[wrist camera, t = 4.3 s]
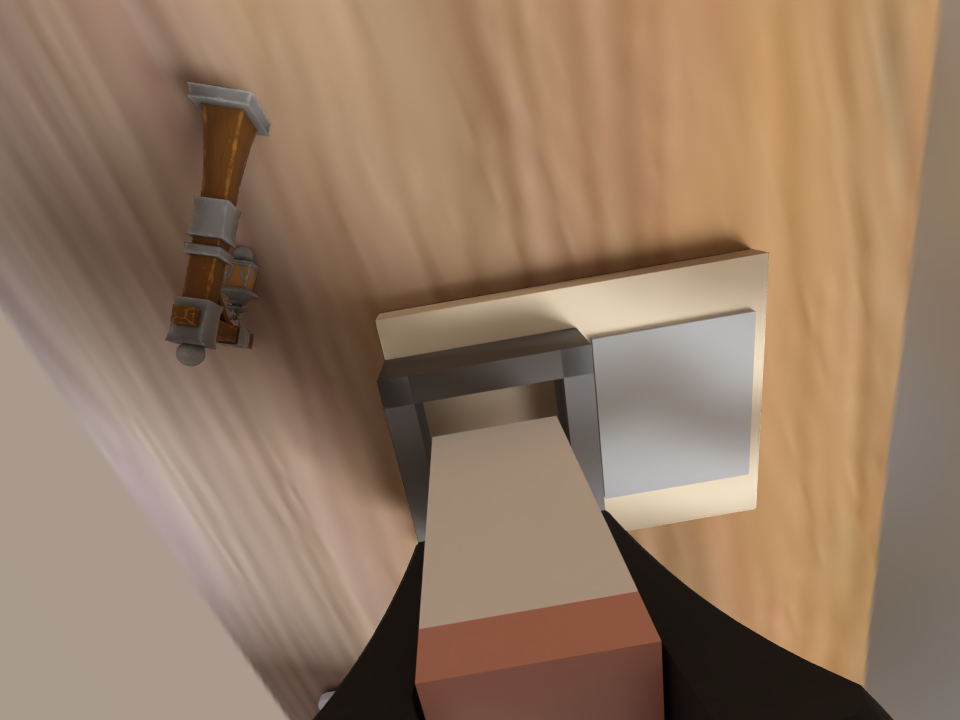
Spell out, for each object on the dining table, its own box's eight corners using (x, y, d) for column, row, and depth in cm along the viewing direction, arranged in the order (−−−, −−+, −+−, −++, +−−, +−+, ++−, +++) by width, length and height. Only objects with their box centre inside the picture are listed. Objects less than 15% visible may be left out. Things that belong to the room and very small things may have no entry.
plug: (571, 540, 17) (668, 825, 9) (459, 559, 17) (467, 859, 9) (556, 415, 15) (662, 640, 8) (432, 437, 15) (414, 684, 8)
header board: (742, 494, 21) (786, 541, 19) (436, 547, 21) (434, 601, 19) (752, 249, 18) (809, 261, 15) (379, 313, 18) (365, 338, 15)
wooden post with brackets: (213, 368, 17) (137, 360, 13) (244, 156, 18) (182, 76, 13) (265, 374, 17) (208, 367, 13) (293, 163, 18) (249, 87, 13)
